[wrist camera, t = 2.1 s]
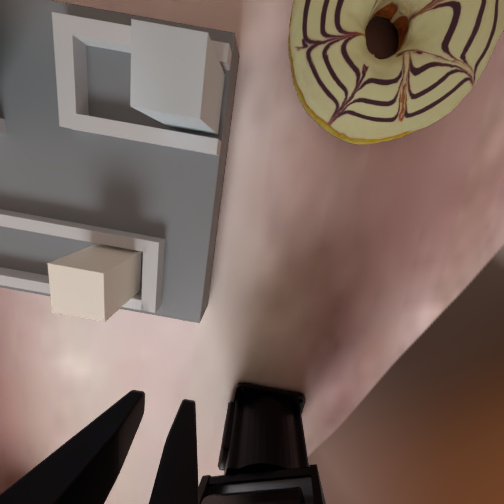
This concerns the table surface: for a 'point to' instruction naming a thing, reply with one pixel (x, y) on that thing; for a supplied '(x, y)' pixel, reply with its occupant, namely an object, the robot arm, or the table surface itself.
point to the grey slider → (176, 76)
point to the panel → (102, 158)
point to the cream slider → (94, 281)
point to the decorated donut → (388, 62)
